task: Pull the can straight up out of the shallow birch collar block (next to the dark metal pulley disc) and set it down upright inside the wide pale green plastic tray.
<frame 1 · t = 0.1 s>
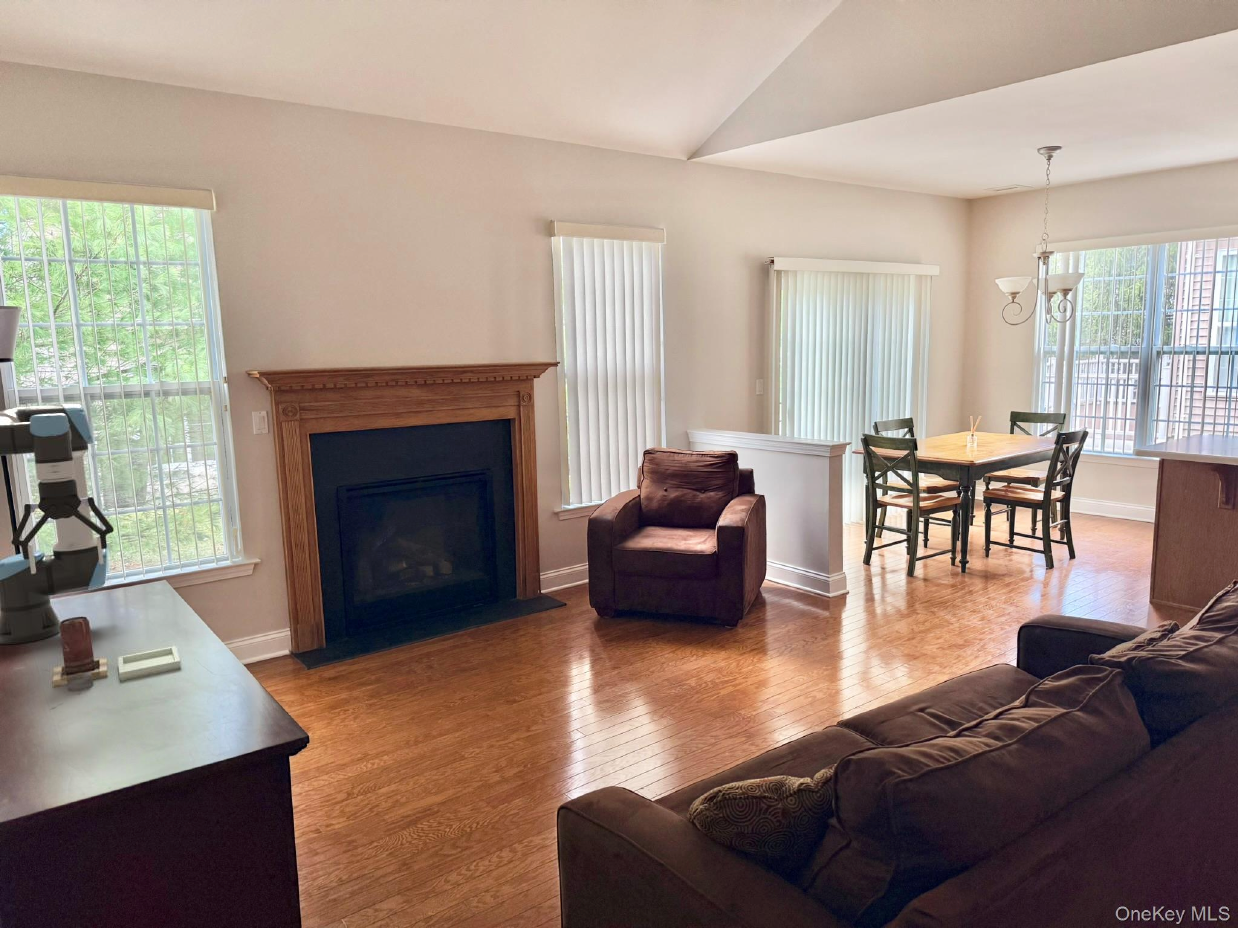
hand: (68, 567, 200), 28 cm above the table, fingers open, 13 cm apart
can: (81, 675, 206), resting in collar block
collar block: (81, 674, 206), on the table
tray: (149, 666, 210), on the table
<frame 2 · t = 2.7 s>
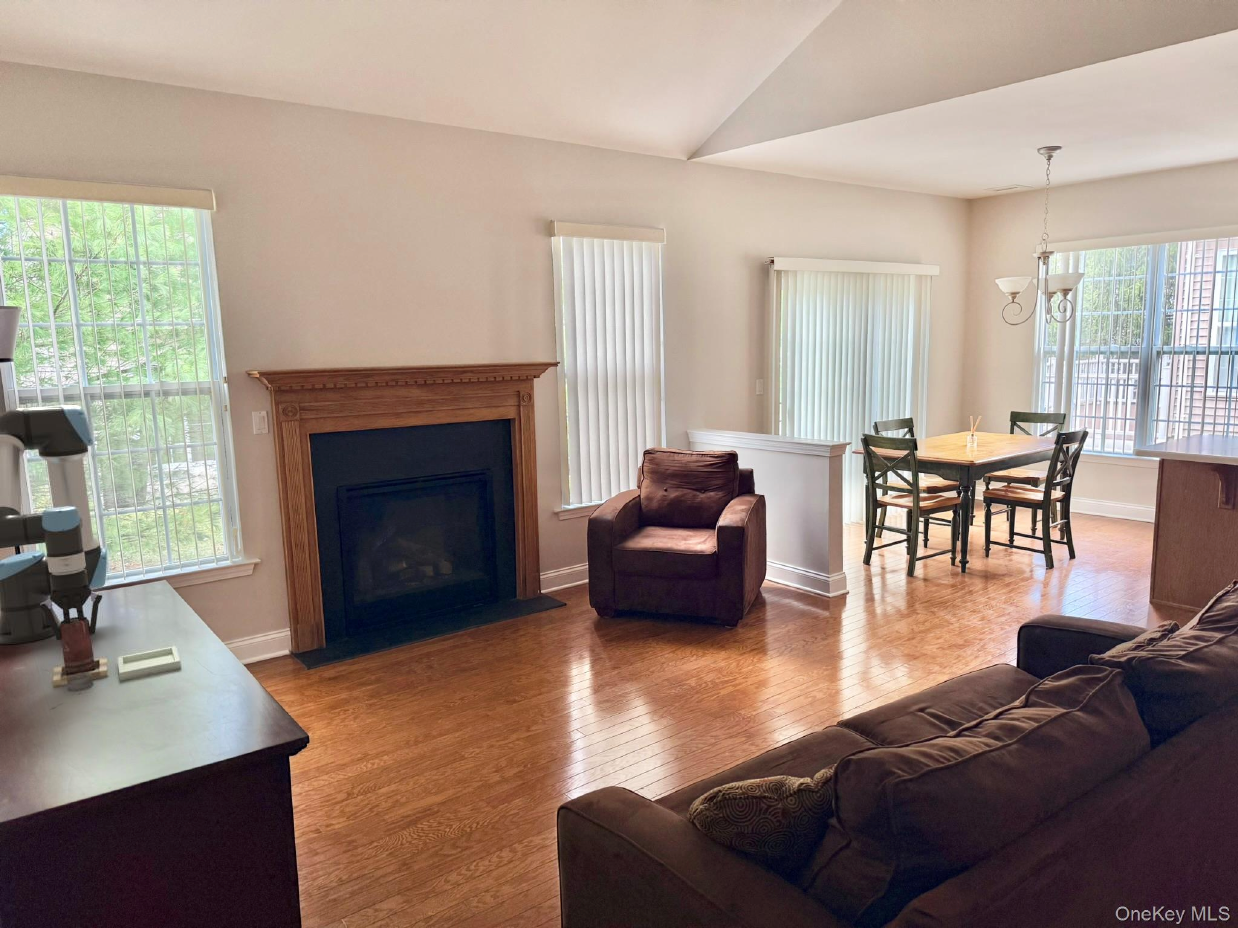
hand: (80, 664, 206), 3 cm above the table, fingers closed
can: (81, 675, 206), resting in collar block, touching hand
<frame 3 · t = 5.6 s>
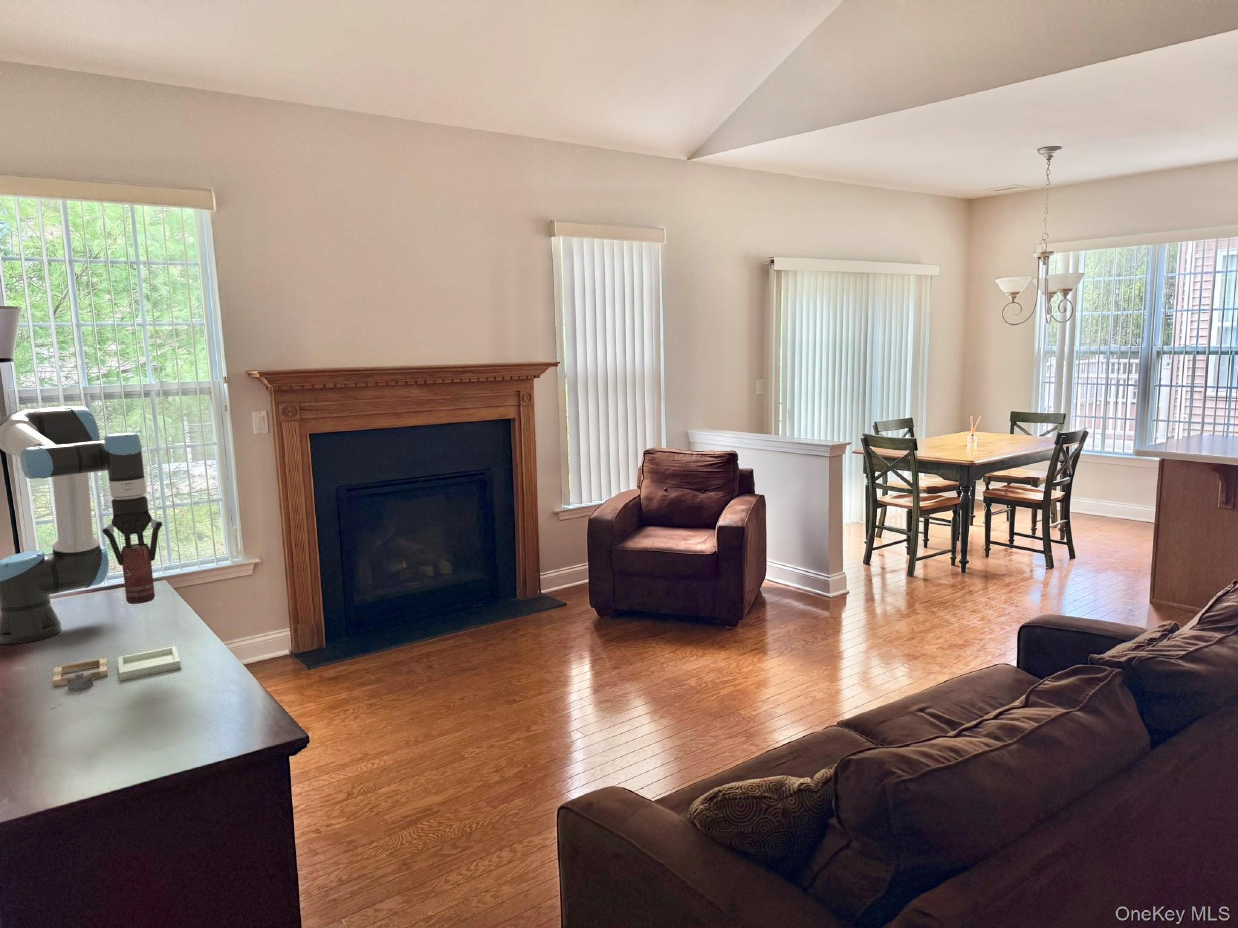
hand: (140, 590, 207), 20 cm above the table, fingers closed
can: (141, 601, 207), point 17 cm above the table, touching hand
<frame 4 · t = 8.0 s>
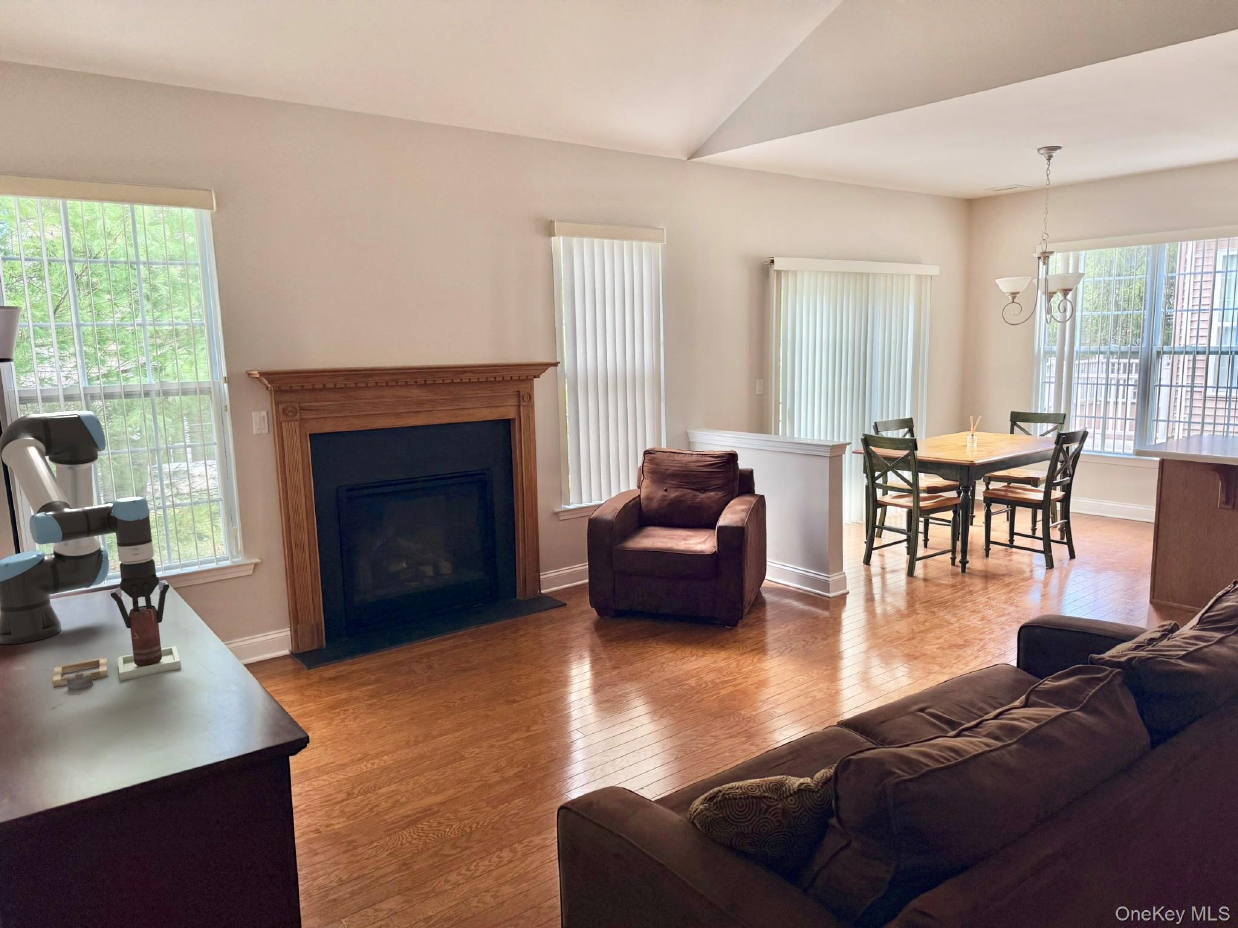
hand: (147, 651, 209), 4 cm above the table, fingers closed
can: (149, 662, 210), point 1 cm above the table, touching hand
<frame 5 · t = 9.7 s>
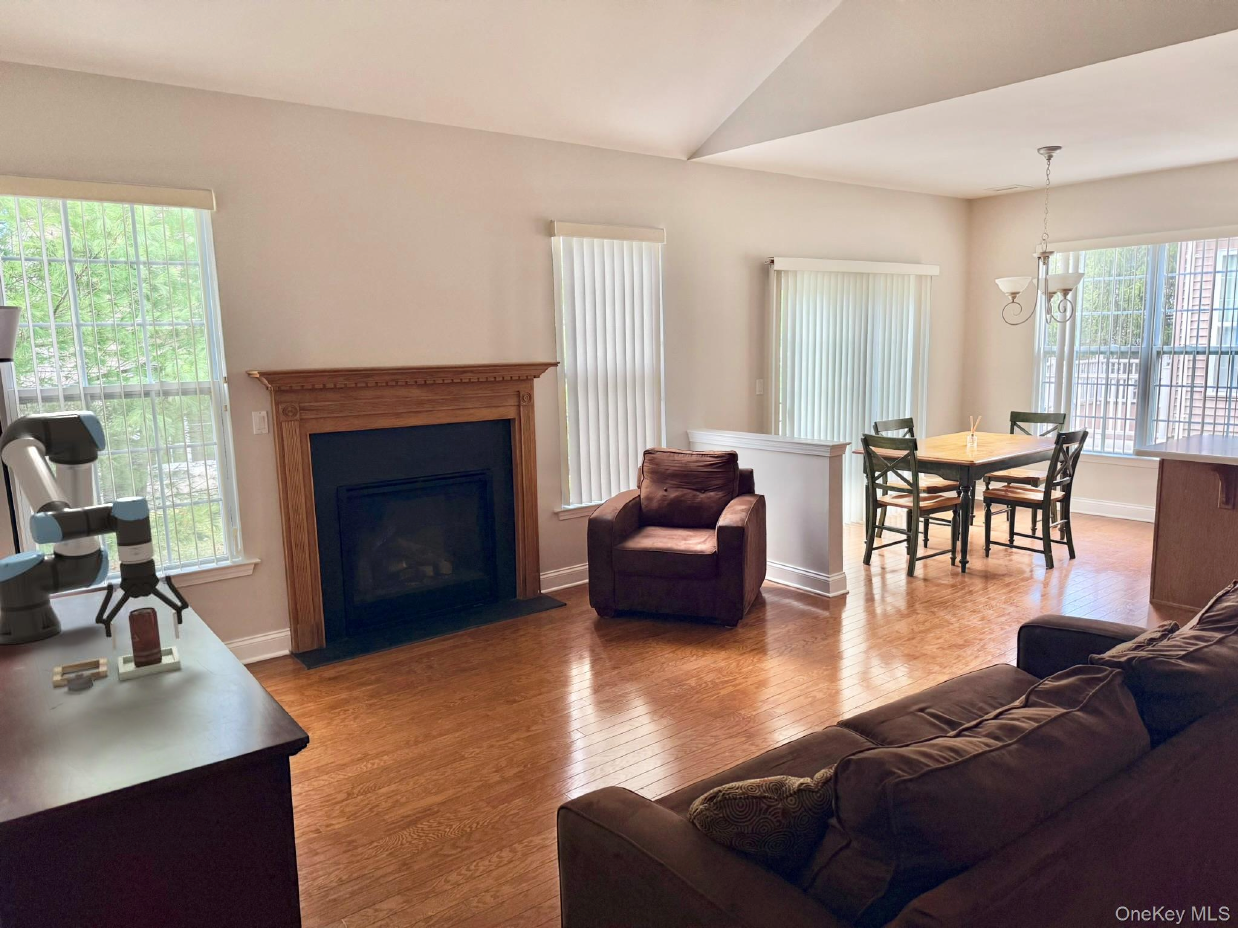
hand: (146, 643, 209), 6 cm above the table, fingers open, 13 cm apart
can: (149, 664, 210), resting on tray
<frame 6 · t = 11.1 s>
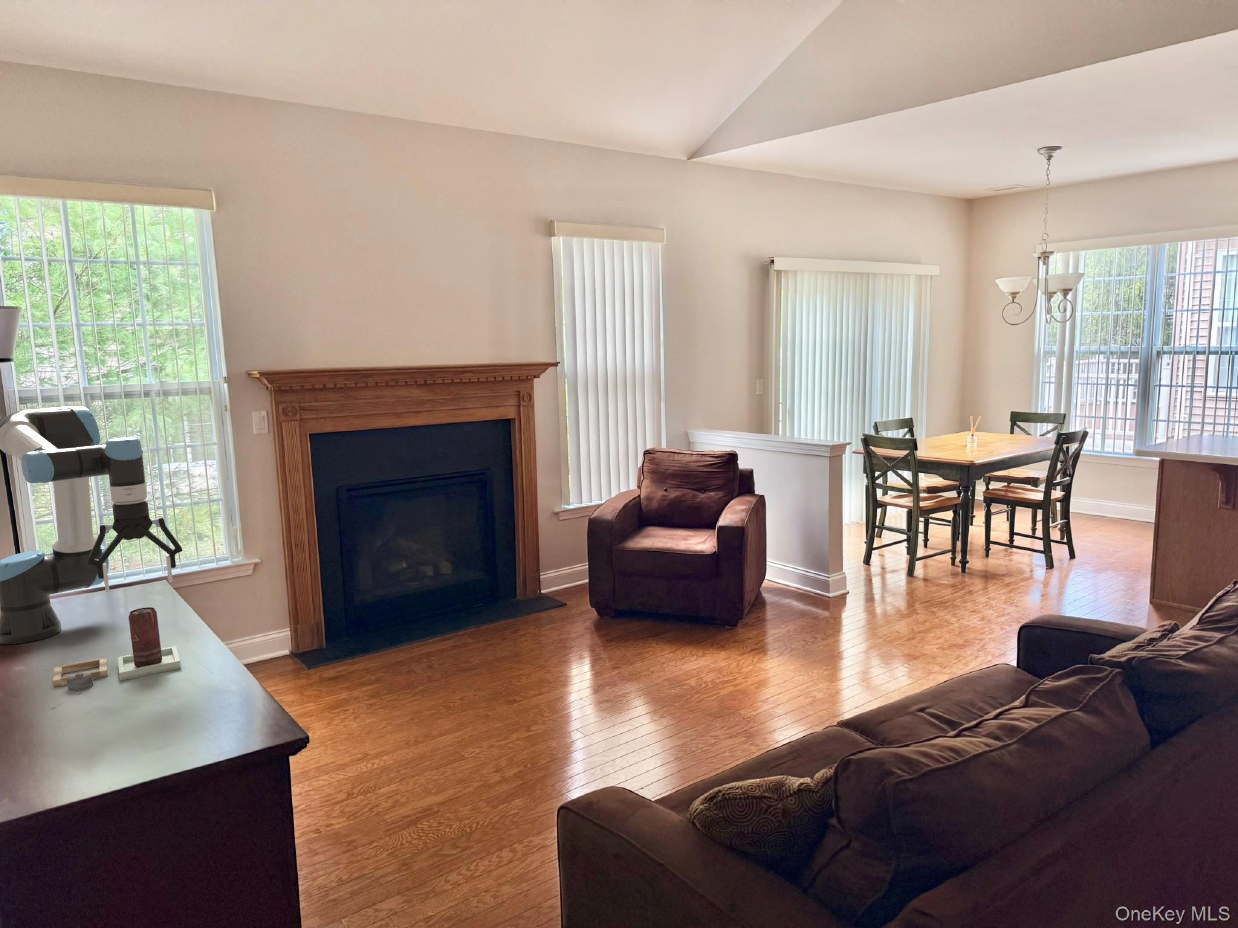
hand: (139, 585, 207), 21 cm above the table, fingers open, 13 cm apart
nothing on the table moved.
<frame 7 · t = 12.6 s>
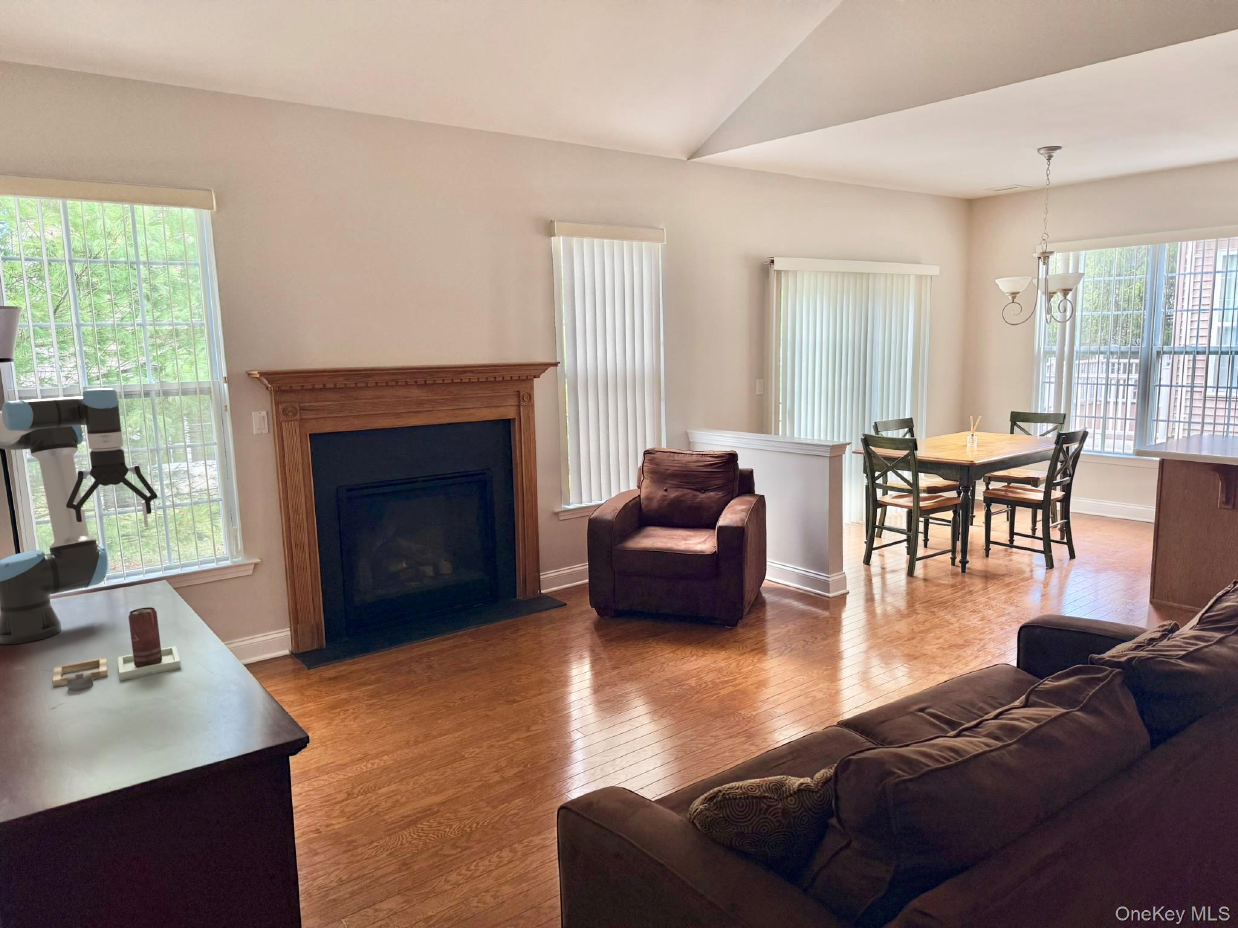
hand: (116, 530, 218), 33 cm above the table, fingers open, 13 cm apart
nothing on the table moved.
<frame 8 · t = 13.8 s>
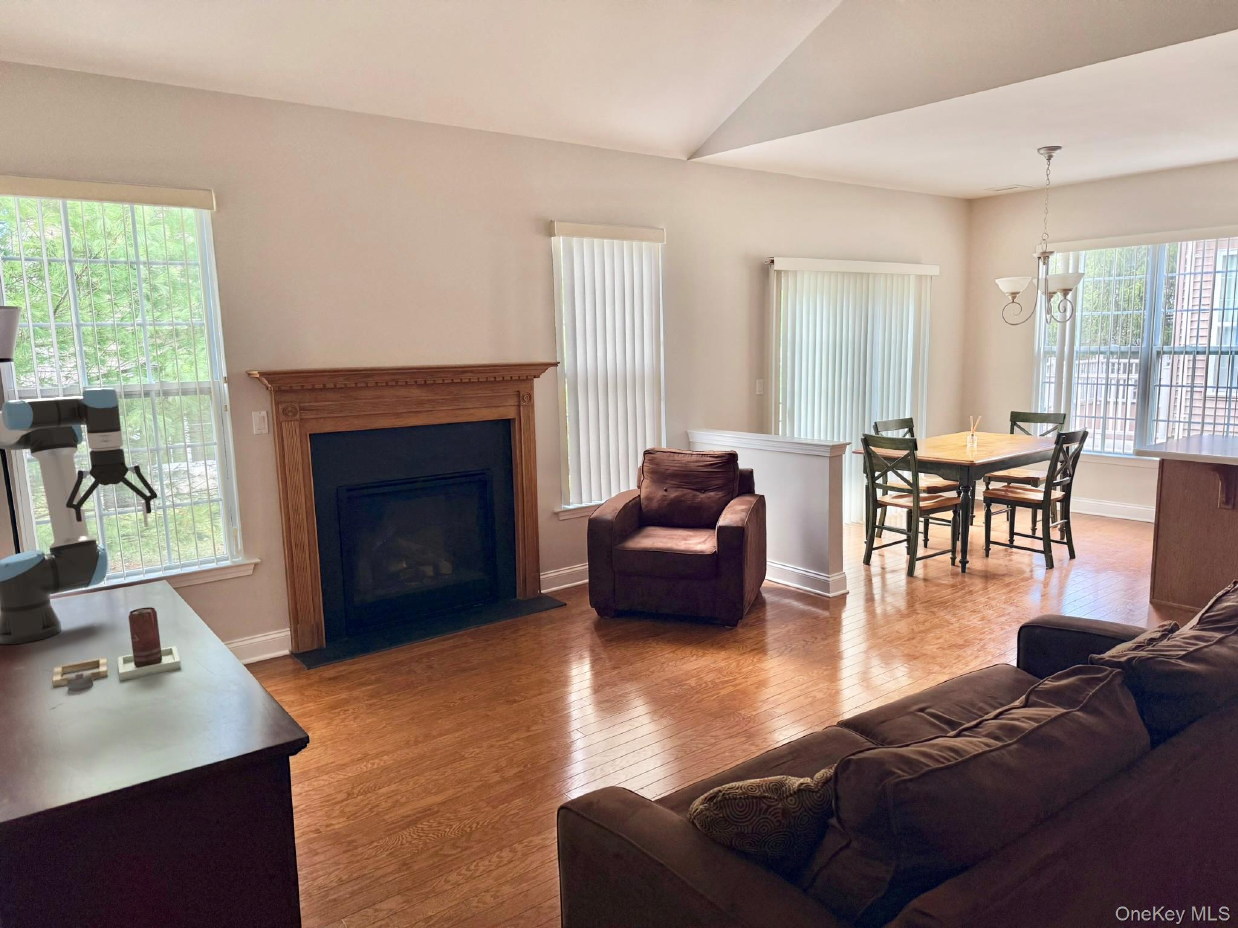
hand: (116, 529, 218), 33 cm above the table, fingers open, 13 cm apart
nothing on the table moved.
at the end: can inside the target area on the tray (0.0 cm from its centre), point 0.4 cm above the tray's base; can tilted 0°; the gripper is holding nothing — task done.
